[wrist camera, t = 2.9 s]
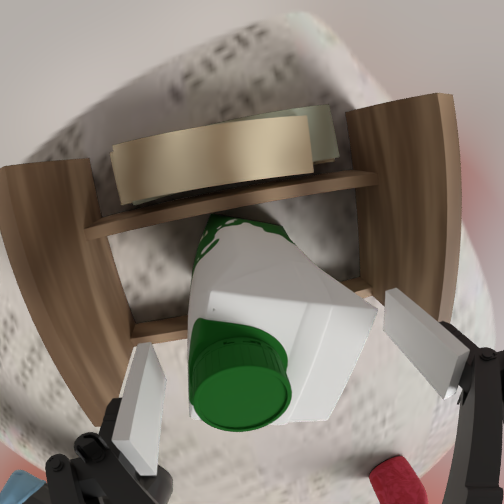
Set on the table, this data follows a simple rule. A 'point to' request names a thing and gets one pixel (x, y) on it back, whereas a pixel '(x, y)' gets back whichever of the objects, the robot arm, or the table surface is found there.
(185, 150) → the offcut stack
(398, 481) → the wine bottle
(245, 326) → the soya milk
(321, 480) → the table surface
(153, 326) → the walnut rack
